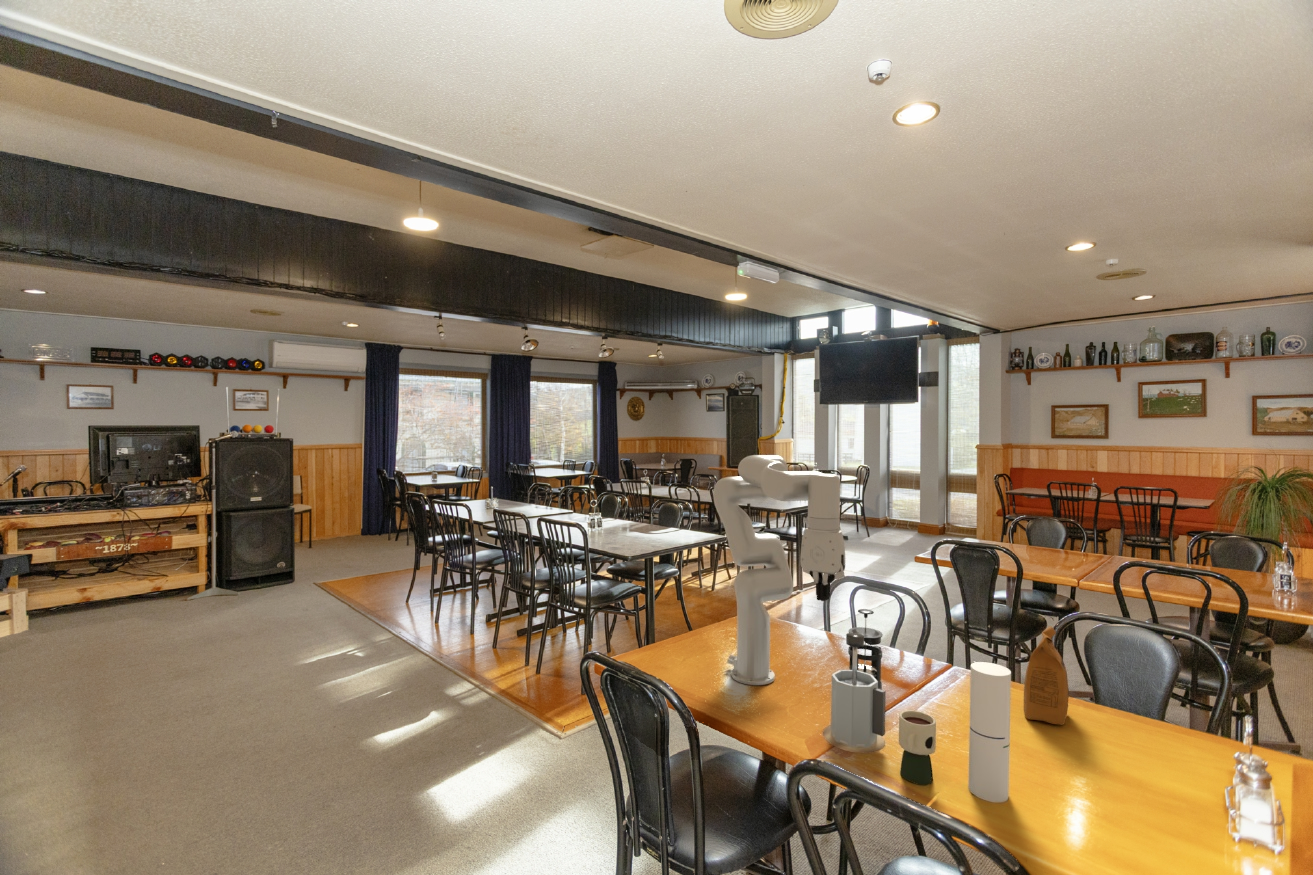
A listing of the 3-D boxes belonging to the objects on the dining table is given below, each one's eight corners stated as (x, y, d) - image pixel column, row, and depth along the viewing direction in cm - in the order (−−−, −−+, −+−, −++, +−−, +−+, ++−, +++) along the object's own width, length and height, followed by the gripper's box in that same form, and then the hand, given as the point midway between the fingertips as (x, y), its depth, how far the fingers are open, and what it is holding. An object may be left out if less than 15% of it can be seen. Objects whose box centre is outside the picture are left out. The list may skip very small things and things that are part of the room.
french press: (867, 703, 164) (869, 617, 163) (838, 691, 171) (839, 609, 171) (893, 693, 171) (894, 610, 170) (863, 681, 178) (864, 602, 178)
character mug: (928, 798, 122) (929, 732, 122) (891, 785, 126) (892, 722, 126) (940, 773, 131) (941, 712, 130) (905, 762, 135) (906, 703, 135)
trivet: (811, 739, 144) (811, 736, 144) (840, 719, 154) (840, 717, 154) (868, 762, 135) (868, 759, 135) (895, 739, 145) (895, 737, 145)
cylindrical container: (961, 782, 127) (963, 662, 127) (993, 780, 128) (996, 661, 128) (982, 803, 120) (984, 676, 120) (1016, 801, 121) (1019, 675, 121)
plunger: (833, 687, 144) (834, 635, 144) (847, 679, 149) (848, 628, 149) (861, 697, 139) (862, 642, 139) (875, 688, 144) (876, 635, 144)
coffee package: (1072, 713, 159) (1074, 629, 159) (1065, 731, 150) (1067, 641, 149) (1028, 702, 166) (1029, 621, 165) (1019, 718, 156) (1020, 632, 156)
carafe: (824, 736, 144) (825, 677, 144) (844, 722, 151) (845, 666, 151) (873, 756, 136) (874, 693, 136) (892, 740, 143) (893, 680, 143)
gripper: (788, 522, 152) (788, 596, 153) (844, 529, 142) (843, 608, 142) (804, 519, 158) (804, 591, 158) (859, 526, 147) (859, 602, 147)
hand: (822, 599), depth 150 cm, fingers closed
